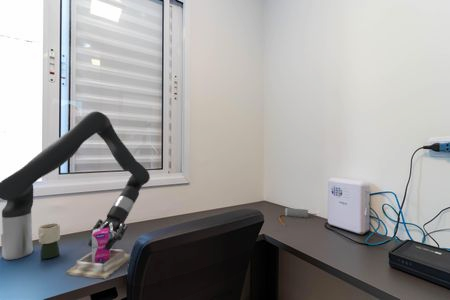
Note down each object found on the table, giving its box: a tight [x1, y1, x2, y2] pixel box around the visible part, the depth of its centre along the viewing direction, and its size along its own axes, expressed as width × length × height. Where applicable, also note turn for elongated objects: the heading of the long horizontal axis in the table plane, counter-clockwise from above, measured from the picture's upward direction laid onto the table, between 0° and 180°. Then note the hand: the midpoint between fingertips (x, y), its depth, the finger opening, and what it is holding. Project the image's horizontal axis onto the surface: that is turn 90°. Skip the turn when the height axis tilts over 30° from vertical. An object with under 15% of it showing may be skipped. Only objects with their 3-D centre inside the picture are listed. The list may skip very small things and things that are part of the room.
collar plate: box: [65, 248, 131, 280], centre depth 89 cm, size 16×16×4 cm
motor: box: [278, 207, 317, 226], centre depth 138 cm, size 23×22×5 cm
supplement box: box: [91, 228, 110, 263], centre depth 89 cm, size 6×6×12 cm
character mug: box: [37, 222, 61, 259], centre depth 96 cm, size 11×7×13 cm, turn 2°
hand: (98, 247), depth 88 cm, fingers closed on supplement box, 8 cm apart
